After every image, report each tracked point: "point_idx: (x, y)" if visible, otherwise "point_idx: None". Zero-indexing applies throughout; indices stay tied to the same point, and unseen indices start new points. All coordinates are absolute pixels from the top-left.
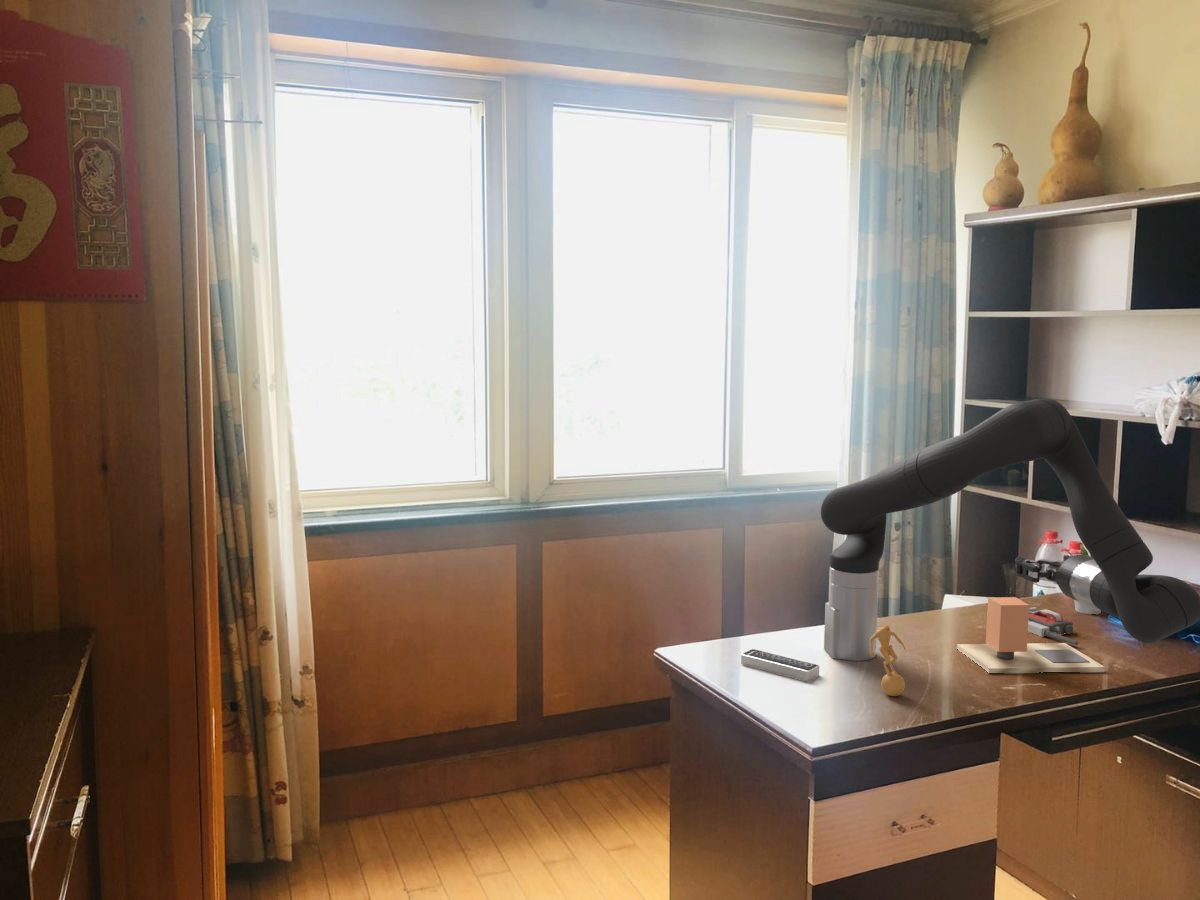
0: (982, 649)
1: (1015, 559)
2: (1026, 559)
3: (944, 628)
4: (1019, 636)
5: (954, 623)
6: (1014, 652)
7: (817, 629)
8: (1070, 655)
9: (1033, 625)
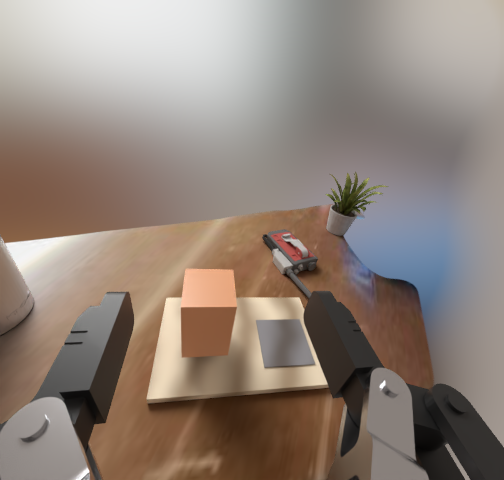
0: None
1: (86, 312)
2: (71, 375)
3: (192, 249)
4: (216, 342)
5: (210, 241)
6: None
7: (39, 242)
8: (295, 340)
9: (278, 259)
